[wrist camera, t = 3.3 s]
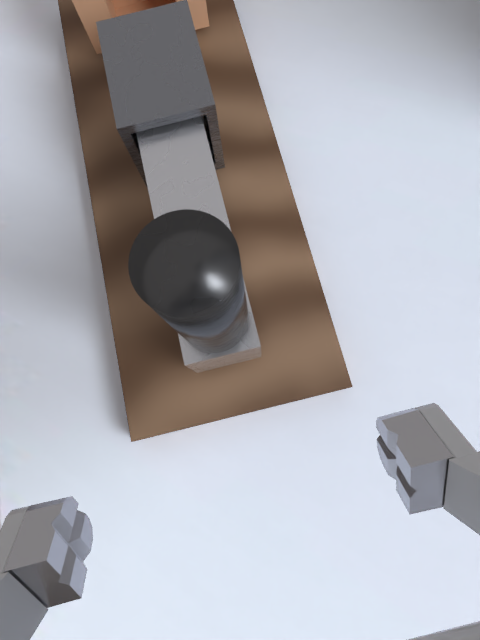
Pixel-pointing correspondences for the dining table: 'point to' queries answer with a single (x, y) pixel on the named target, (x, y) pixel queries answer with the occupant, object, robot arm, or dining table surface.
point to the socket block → (104, 3)
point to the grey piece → (191, 251)
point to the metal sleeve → (157, 75)
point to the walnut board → (246, 225)
